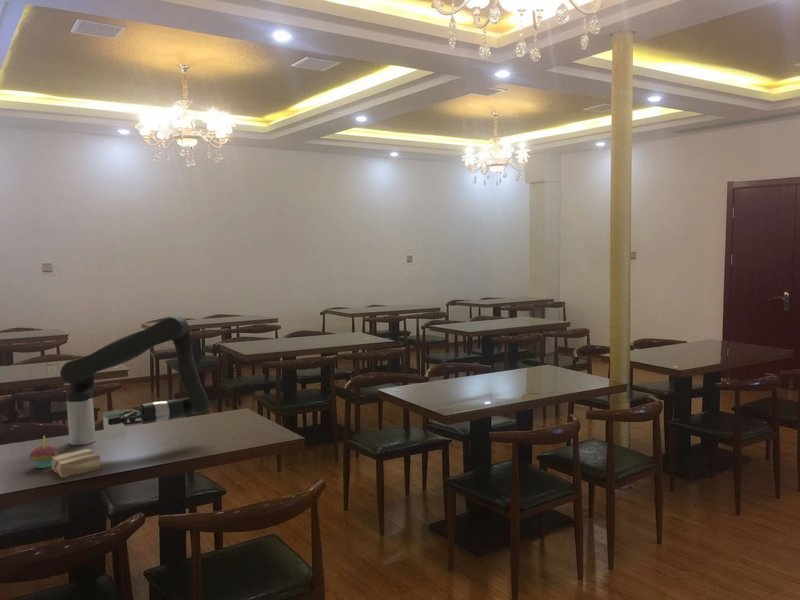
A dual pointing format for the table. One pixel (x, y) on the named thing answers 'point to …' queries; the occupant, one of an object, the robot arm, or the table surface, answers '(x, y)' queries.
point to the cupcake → (43, 455)
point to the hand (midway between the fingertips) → (106, 420)
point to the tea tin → (116, 429)
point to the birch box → (75, 462)
